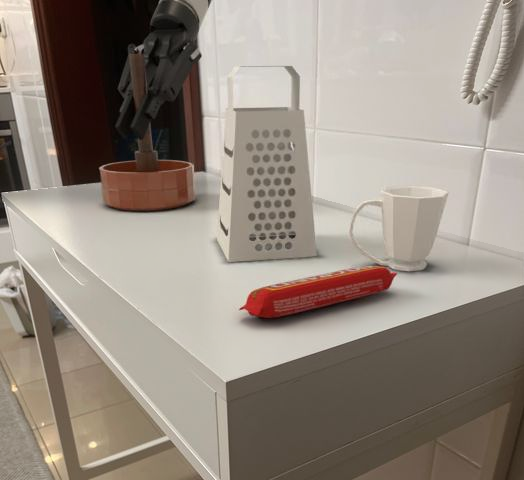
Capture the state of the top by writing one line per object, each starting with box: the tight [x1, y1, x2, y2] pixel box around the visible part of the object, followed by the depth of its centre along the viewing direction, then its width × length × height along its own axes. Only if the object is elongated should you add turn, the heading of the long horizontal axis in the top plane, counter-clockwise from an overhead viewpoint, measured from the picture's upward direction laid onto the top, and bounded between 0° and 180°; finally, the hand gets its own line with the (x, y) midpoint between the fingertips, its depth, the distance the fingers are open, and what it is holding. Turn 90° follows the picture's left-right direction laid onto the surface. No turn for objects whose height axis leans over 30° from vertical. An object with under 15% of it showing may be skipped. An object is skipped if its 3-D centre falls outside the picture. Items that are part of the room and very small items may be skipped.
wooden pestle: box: [129, 54, 159, 172], centre depth 89 cm, size 4×4×17 cm
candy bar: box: [238, 265, 398, 319], centre depth 51 cm, size 16×4×3 cm, turn 121°
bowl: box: [98, 159, 196, 212], centre depth 93 cm, size 15×15×6 cm
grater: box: [216, 65, 318, 263], centre depth 65 cm, size 10×10×20 cm
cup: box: [348, 185, 449, 272], centre depth 60 cm, size 7×10×8 cm
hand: (129, 133), depth 87 cm, fingers closed on wooden pestle, 2 cm apart
